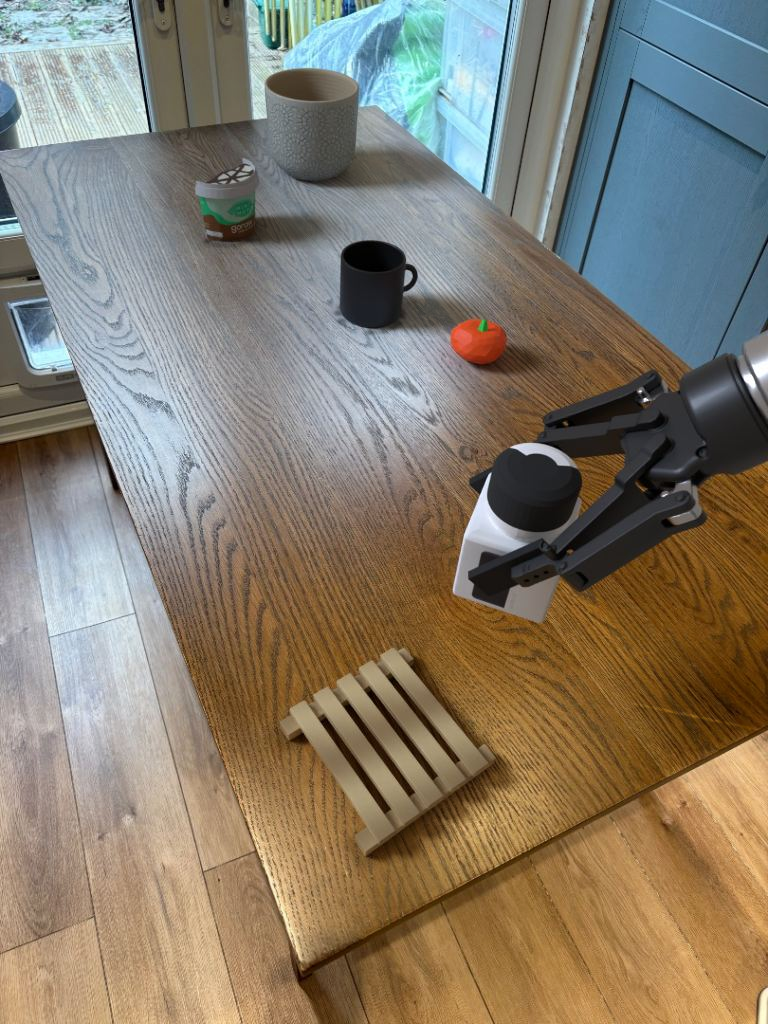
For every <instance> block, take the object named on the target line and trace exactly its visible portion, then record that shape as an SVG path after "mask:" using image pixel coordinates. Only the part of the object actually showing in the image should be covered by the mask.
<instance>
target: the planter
mask: <svg viewBox="0 0 768 1024" xmlns="http://www.w3.org/2000/svg"><path fill="white" fill-rule="evenodd" d="M264 99H265V101H264V102H265V108H266V109H265V111H266V121H267V132H268V133H267V135H268V143H269V148H270V154H271V156H272V158H273V160H274V162H275V164H276V165H277V166H278V167H279V168H280V170H282V171H283V172H284V173H285V174H287V175H288V176H290V177H292V178H295V179H297V180H301V181H306V182H322V181H328V180H332V179H334V178H337V177H338V176H340V175H342V173H344V172H345V171H347V169H348V168H349V167H350V165H351V163H352V161H353V159H354V156H355V152H356V144H357V132H358V118H359V102H360V101H359V100H360V85H359V83H358V82H357V80H355V79H354V78H353V77H351V76H350V75H347V74H346V73H342V72H339V71H335V70H330V69H327V68H326V69H324V68H317V67H298V68H290V69H284V70H280V71H277V72H274V73H272V74H270V75H268V77H267V78H266V79H265V80H264Z"/></svg>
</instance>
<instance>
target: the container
mask: <svg viewBox="0 0 768 1024" xmlns="http://www.w3.org/2000/svg"><path fill="white" fill-rule="evenodd" d="M492 466H493V468H492V472H491V473H490V474H489V475H488V477H487V480H486V482H485V485H484V487H483V490H482V492H481V494H480V495H479V497H478V499H477V502H476V504H475V507H474V509H473V512H472V514H471V517H470V519H469V522H468V523H467V526H466V529H465V532H464V534H463V538H462V544H461V548H460V553H459V557H458V563H457V566H456V571H455V572H456V573H455V577H454V582H453V586H452V594H453V595H454V596H456V597H458V598H462V599H465V600H468V601H472V602H473V603H477V604H480V605H483V606H486V607H489V608H492V609H495V610H498V611H501V612H504V613H507V614H510V615H512V616H515V617H520V618H522V619H525V620H527V621H528V620H529V621H530V622H534V623H538V624H542V623H543V622H544V621H545V619H546V616H547V614H548V612H549V608H550V606H551V603H552V601H553V598H554V595H555V593H556V590H557V587H558V585H559V581H560V580H561V578H562V577H561V576H559V575H557V576H554V577H552V578H549V579H547V580H544V581H542V582H539V583H537V584H535V585H532V586H530V587H521V586H520V585H517V586H514V587H512V588H510V589H507V590H505V591H502V592H500V593H498V594H495V595H493V596H490V597H489V596H488V595H487V594H485V593H484V592H483V591H482V590H480V589H479V588H478V587H477V586H476V585H474V584H473V583H472V582H471V581H470V580H468V571H470V570H472V569H474V568H476V567H479V566H481V565H483V564H485V563H488V562H490V561H492V560H494V559H496V558H499V557H501V556H503V555H505V554H508V553H510V552H512V551H514V550H516V549H519V548H521V547H523V546H525V545H527V544H530V543H532V542H534V541H536V540H539V539H541V538H543V539H544V540H545V541H546V542H547V543H548V544H549V545H550V544H551V543H552V542H553V541H554V540H555V539H556V538H557V537H558V536H559V535H560V534H561V533H562V532H564V531H565V530H566V529H567V528H568V527H569V526H570V525H571V524H572V523H573V522H574V521H575V520H576V519H577V518H578V517H579V516H580V515H579V514H580V512H581V506H582V503H583V501H582V499H581V498H580V497H579V496H580V493H581V491H582V487H583V476H582V473H581V471H580V469H579V467H578V465H577V464H576V463H575V462H574V460H573V459H571V458H570V457H568V456H567V455H566V454H565V453H563V452H561V451H560V450H558V449H556V448H553V447H551V446H548V445H544V444H538V443H532V442H524V443H518V444H515V445H512V446H510V447H508V448H506V449H503V450H502V451H501V452H500V453H499V454H498V455H497V456H496V457H495V459H494V461H493V465H492ZM569 551H570V550H568V551H567V552H568V553H570V552H569Z"/></svg>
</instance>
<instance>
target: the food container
mask: <svg viewBox="0 0 768 1024" xmlns="http://www.w3.org/2000/svg"><path fill="white" fill-rule="evenodd" d="M259 185H260V178H259V175H258V171H257V169H256V167H255V165H254V163H252V162H251V161H250V160H249V159H247V158H245V157H242V164H239V165H238V166H236V167H234V168H232V169H227V170H223V171H220V172H219V173H218V174H216V175H215V176H214V177H213V178H211V179H209V180H208V181H206V182H203V181H199V180H195V188H194V189H195V190H194V191H195V193H194V194H195V195H196V196H198V198H199V199H198V200H199V203H200V208H201V213H202V214H201V215H202V218H203V223H204V227H205V233H206V237H207V239H209V240H212V241H216V242H226V243H227V242H228V243H229V242H237V241H242V240H246V239H247V238H249V237H251V236H252V235H253V234H254V232H255V229H256V189H258V187H259Z"/></svg>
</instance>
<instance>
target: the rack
mask: <svg viewBox="0 0 768 1024" xmlns="http://www.w3.org/2000/svg"><path fill="white" fill-rule="evenodd" d="M379 660H380V661H379V662H377V663H376V662H375V661H374V660H373V659H372V660H370V661H368V662H366V663H365V664H363V665H361V666H359V668H358V673H359V674H357V675H355V676H354V675H353V674H352V673H351V672H349V673H348V674H346V675H344V676H343V677H341V678H339V679H337V680H336V687H335V688H334V689H331V688H330V686H326V687H324V688H322V689H320V690H319V691H317V692H315V693H313V701H312V702H310V703H308V702H307V701H306V700H305V699H304V700H302V701H300V702H298V703H297V704H295V705H294V706H291V707H290V708H289V713H290V714H289V715H288V716H287V717H285V718H283V719H282V720H280V721H279V727H280V730H281V731H282V733H283V734H284V736H285V737H286V739H287V741H291V740H293V739H294V738H297V737H298V736H299V735H301V734H304V736H305V737H306V739H307V740H308V742H309V743H310V745H311V746H312V748H313V750H314V751H315V752H316V754H317V755H318V757H319V758H320V760H321V761H322V762H323V764H324V765H325V767H326V768H327V770H328V772H329V773H330V774H331V775H332V778H333V779H334V780H335V782H336V783H337V785H338V786H339V788H340V789H341V790H342V792H343V794H344V795H345V796H346V798H347V799H348V802H350V804H351V805H352V807H353V808H354V810H355V812H356V813H357V814H358V815H359V817H360V819H361V820H362V822H363V823H364V825H365V826H366V827H364V828H363V829H362V830H360V831H359V832H357V833H356V834H354V842H355V844H356V845H357V847H358V848H359V850H360V852H361V853H362V854H363V856H364V857H367V856H369V855H370V854H371V853H373V852H374V851H375V850H376V849H378V848H379V847H381V846H382V845H384V844H385V843H387V842H388V841H390V839H392V838H394V836H396V835H397V834H399V833H400V832H401V831H403V830H404V829H406V828H407V827H409V826H410V825H411V824H413V823H414V822H415V821H416V820H418V819H420V818H421V817H423V816H424V815H425V814H426V813H428V812H429V811H430V810H432V809H433V808H435V807H436V806H437V805H439V804H441V802H443V801H444V800H446V799H447V798H449V796H452V795H453V794H454V793H456V792H457V791H458V790H460V789H461V788H462V787H463V786H465V785H466V784H468V783H469V782H470V781H471V780H473V779H475V778H476V777H477V776H479V775H480V774H482V773H484V771H485V770H487V769H488V768H490V767H491V766H492V765H494V764H495V761H496V759H497V758H496V756H495V755H494V753H493V752H492V751H491V750H490V748H489V747H488V746H487V745H486V743H484V744H482V745H480V746H479V747H478V748H477V747H476V746H475V744H474V743H473V742H472V741H471V740H470V738H469V737H468V736H467V735H466V733H465V732H464V731H463V730H462V729H461V728H460V726H459V725H458V723H457V722H456V721H455V720H454V719H453V717H452V716H451V715H450V714H449V713H448V711H446V709H445V708H444V707H443V705H442V704H441V703H440V702H439V700H438V699H437V698H436V697H435V695H434V694H433V693H432V692H431V691H430V689H428V687H427V686H426V685H425V684H424V681H422V680H421V679H420V678H419V676H418V675H417V673H415V671H414V670H413V668H411V667H412V666H413V665H414V657H413V656H412V655H411V653H410V652H409V651H408V650H407V648H406V647H402V648H401V649H399V650H397V649H396V648H395V647H392V648H390V649H388V650H386V651H384V652H382V653H381V654H380V655H379ZM392 678H394V679H395V680H396V681H397V683H398V684H399V685H400V686H401V687H402V689H403V690H404V691H405V693H406V694H407V695H408V696H409V697H410V699H411V700H412V701H413V702H414V705H416V706H417V708H418V709H419V710H420V711H421V713H422V714H423V715H424V717H425V718H426V719H427V720H428V721H429V723H430V724H431V725H432V727H433V728H434V729H435V730H436V732H437V733H438V734H439V735H440V736H441V738H442V739H443V740H444V741H445V743H446V744H447V745H448V746H449V748H450V749H451V751H452V752H453V753H454V754H455V755H456V757H457V758H458V759H459V761H457V762H456V763H454V761H453V760H452V758H450V756H449V755H448V754H447V752H446V751H445V750H444V748H443V747H442V746H441V744H440V743H439V742H438V741H437V739H435V737H434V736H433V735H432V733H431V731H429V729H428V728H427V727H426V726H425V725H424V723H423V722H422V720H421V719H420V718H419V717H418V716H417V714H416V713H415V712H414V711H413V709H412V708H411V706H410V705H409V704H408V703H407V702H406V700H405V699H404V698H403V697H402V695H401V694H400V693H399V691H398V690H397V689H396V688H395V687H394V685H393V684H392V682H391V681H390V680H391V679H392ZM371 691H372V692H373V693H374V694H375V696H376V697H377V698H378V699H379V700H380V702H381V703H382V704H383V706H384V707H385V709H386V710H387V711H388V713H389V714H390V715H391V716H392V717H393V719H394V720H395V722H396V723H397V724H398V726H399V727H400V728H401V730H403V732H404V733H405V735H406V736H407V737H408V739H409V740H410V741H411V742H412V744H413V745H414V746H415V748H416V749H417V750H418V752H419V753H420V754H421V755H422V757H423V758H424V759H425V761H426V762H427V763H428V764H429V766H430V767H431V769H432V770H433V771H434V772H435V774H436V775H437V776H436V777H435V778H434V779H432V778H431V776H430V775H429V774H428V773H427V771H426V770H425V769H424V767H423V766H422V765H421V764H420V763H419V761H418V760H417V758H416V757H415V756H414V754H413V753H412V751H411V750H410V749H409V747H407V745H406V744H405V742H403V740H402V738H401V737H400V736H399V735H398V734H397V732H396V731H395V729H394V728H393V727H392V726H391V724H390V723H389V721H388V720H387V719H386V718H385V716H384V715H383V713H381V711H380V709H378V707H377V706H376V704H375V703H374V702H373V700H372V699H371V698H370V696H369V695H368V693H369V692H371ZM348 705H350V706H351V707H352V708H353V710H354V711H355V713H356V714H357V715H358V717H359V718H360V719H361V721H362V722H363V724H364V725H365V726H366V728H368V730H369V731H370V733H371V734H372V736H373V738H374V739H376V741H377V742H378V744H379V746H381V748H382V749H383V750H384V752H385V753H386V755H387V756H388V758H389V759H390V760H391V761H392V763H393V764H394V765H395V767H396V768H397V769H398V771H399V772H400V774H401V775H402V776H403V778H404V779H405V780H406V782H407V783H408V784H409V786H410V787H411V789H412V790H413V791H414V793H412V794H411V795H410V796H409V795H408V794H407V792H406V791H405V789H404V788H403V786H401V784H400V782H399V781H398V780H397V779H396V777H395V776H394V774H393V773H392V771H391V770H390V769H389V768H388V766H387V765H386V763H385V762H384V761H383V759H382V758H381V756H379V754H378V753H377V751H376V750H375V749H374V747H373V745H372V744H371V743H370V742H369V740H368V738H367V737H366V736H365V734H364V733H363V732H362V731H361V729H360V728H359V726H358V725H357V723H356V722H355V721H354V719H353V718H352V717H351V716H350V714H349V712H347V710H346V708H345V707H347V706H348ZM325 719H327V720H328V722H329V723H330V724H331V726H332V727H333V729H334V730H335V732H336V733H337V734H338V736H339V737H340V739H341V740H342V741H343V743H344V744H345V746H346V747H347V748H348V750H349V752H350V754H352V755H353V757H354V758H355V760H356V761H357V762H358V764H359V765H360V767H361V768H362V770H363V771H364V773H365V774H366V775H367V777H368V778H369V780H370V781H371V782H372V784H373V785H374V787H375V789H377V791H378V792H379V794H380V796H381V797H382V798H383V800H384V801H385V802H386V804H387V806H388V807H389V808H390V809H389V811H387V812H384V811H383V810H382V809H381V807H380V806H379V804H378V803H377V801H376V800H375V798H374V797H373V795H372V794H371V793H370V791H369V790H368V788H367V787H366V785H365V784H364V782H363V781H362V780H361V778H360V777H359V775H358V774H357V772H356V771H355V770H354V768H353V767H352V766H351V764H350V763H349V761H348V760H347V759H346V757H345V755H344V754H343V752H342V751H341V750H340V748H339V747H338V745H337V744H336V742H335V741H334V739H333V738H332V737H331V735H330V734H329V732H328V731H327V729H326V728H325V727H324V725H323V724H322V723H321V722H323V721H324V720H325Z"/></svg>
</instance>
